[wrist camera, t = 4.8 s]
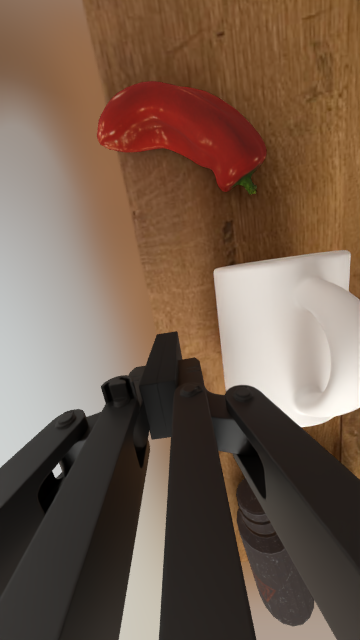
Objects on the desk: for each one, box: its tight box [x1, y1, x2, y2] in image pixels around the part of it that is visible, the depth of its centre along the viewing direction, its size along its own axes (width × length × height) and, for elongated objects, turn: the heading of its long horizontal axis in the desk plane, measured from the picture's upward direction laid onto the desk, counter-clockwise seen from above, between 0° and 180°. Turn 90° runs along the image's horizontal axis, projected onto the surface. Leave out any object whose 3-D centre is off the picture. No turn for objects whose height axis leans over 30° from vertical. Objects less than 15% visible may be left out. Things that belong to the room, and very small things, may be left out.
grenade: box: [236, 478, 314, 626], centre depth 23 cm, size 8×6×15 cm
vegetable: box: [97, 81, 267, 195], centre depth 14 cm, size 4×5×12 cm
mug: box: [213, 250, 360, 427], centre depth 13 cm, size 8×10×12 cm
